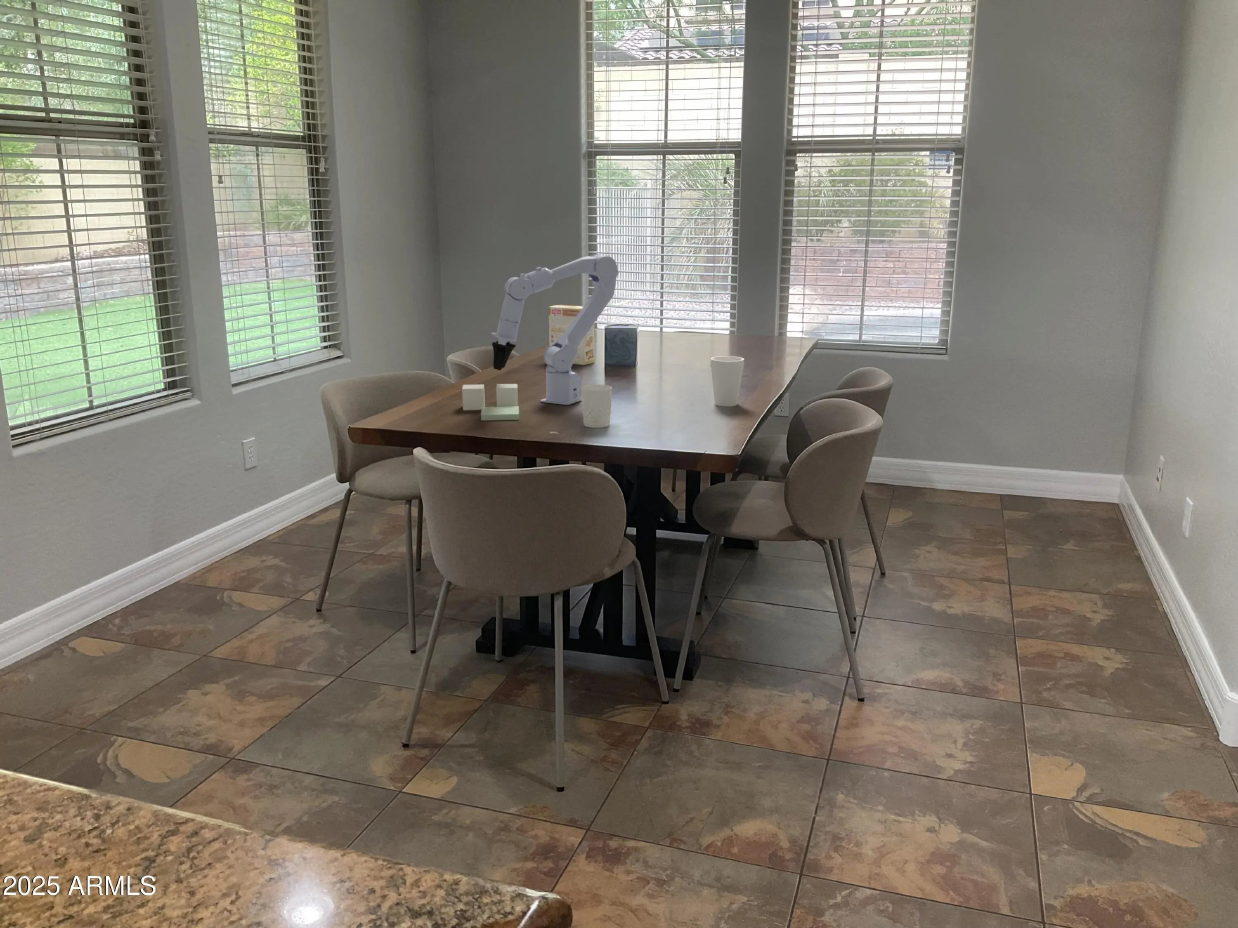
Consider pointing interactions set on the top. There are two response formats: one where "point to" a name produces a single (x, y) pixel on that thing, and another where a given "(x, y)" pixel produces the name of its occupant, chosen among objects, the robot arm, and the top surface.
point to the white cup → (596, 405)
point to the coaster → (500, 413)
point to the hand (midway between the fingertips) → (498, 368)
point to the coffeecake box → (560, 323)
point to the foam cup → (726, 379)
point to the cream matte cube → (507, 395)
